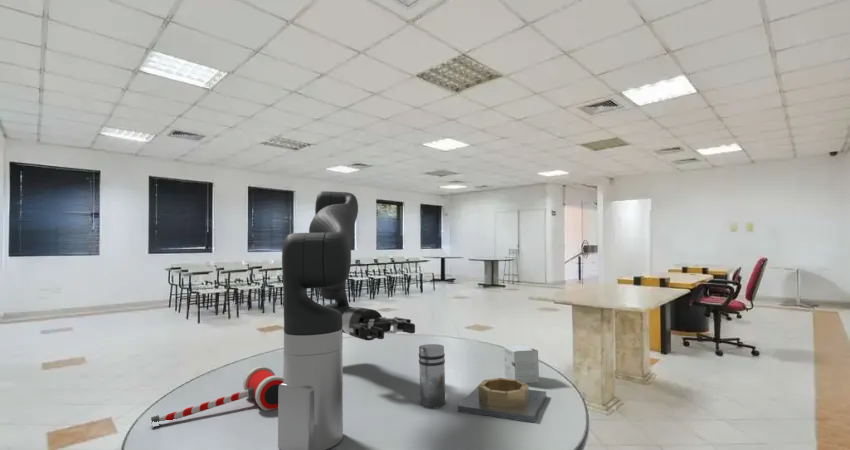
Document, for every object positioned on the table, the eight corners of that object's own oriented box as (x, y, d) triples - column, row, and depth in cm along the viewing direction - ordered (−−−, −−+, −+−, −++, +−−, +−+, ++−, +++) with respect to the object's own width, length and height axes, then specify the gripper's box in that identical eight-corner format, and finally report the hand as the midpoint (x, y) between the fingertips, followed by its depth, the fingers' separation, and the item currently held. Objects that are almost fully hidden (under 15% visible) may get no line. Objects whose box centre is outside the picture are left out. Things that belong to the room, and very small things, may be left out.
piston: (439, 410, 74) (438, 350, 75) (415, 406, 77) (414, 348, 78) (450, 401, 79) (448, 345, 80) (426, 397, 81) (425, 343, 82)
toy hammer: (152, 440, 65) (154, 400, 66) (149, 419, 74) (150, 384, 75) (290, 407, 79) (291, 374, 79) (273, 392, 88) (273, 363, 89)
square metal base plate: (534, 422, 68) (533, 401, 68) (457, 411, 73) (457, 391, 74) (546, 396, 80) (545, 378, 80) (480, 388, 86) (479, 372, 86)
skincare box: (504, 377, 94) (503, 345, 95) (527, 375, 96) (526, 344, 96) (515, 384, 88) (514, 351, 89) (540, 382, 90) (538, 349, 90)
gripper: (335, 311, 96) (371, 318, 84) (384, 305, 105) (423, 310, 93) (336, 342, 95) (371, 354, 83) (385, 333, 105) (423, 343, 92)
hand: (398, 331), depth 88 cm, fingers open, 8 cm apart
